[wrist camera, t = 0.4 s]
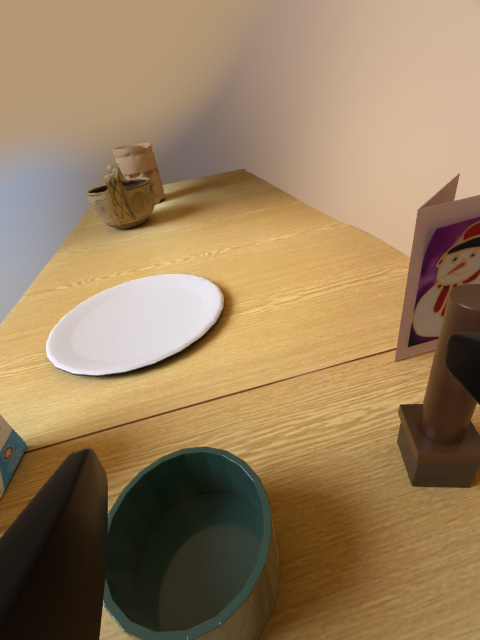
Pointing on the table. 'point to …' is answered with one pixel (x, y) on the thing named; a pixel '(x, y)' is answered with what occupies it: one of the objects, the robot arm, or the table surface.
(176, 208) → the table surface
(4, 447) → the ink box
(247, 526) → the green and tan cup
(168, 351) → the plate
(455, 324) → the brown stamp
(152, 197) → the ceramic bowl
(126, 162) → the container
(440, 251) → the greeting card
